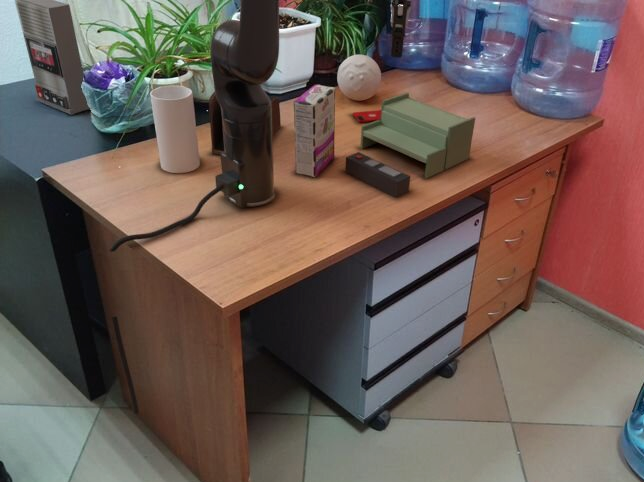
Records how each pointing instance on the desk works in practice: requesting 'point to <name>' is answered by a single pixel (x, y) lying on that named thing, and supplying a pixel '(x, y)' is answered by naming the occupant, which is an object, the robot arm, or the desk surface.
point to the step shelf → (421, 133)
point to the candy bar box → (314, 130)
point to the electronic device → (367, 116)
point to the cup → (175, 128)
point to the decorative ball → (359, 77)
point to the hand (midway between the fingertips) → (397, 50)
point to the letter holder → (218, 129)
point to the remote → (377, 174)
